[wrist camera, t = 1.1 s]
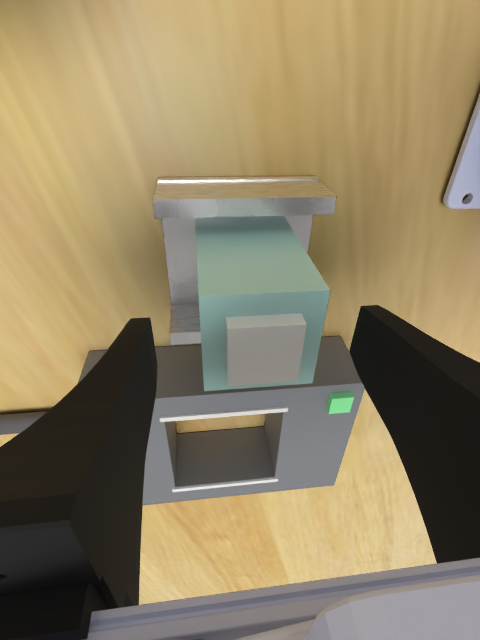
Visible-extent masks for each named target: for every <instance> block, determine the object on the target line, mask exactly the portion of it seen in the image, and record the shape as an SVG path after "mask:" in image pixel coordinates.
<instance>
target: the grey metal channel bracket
mask: <svg viewBox="0 0 480 640" xmlns="http://www.w3.org/2000/svg"><path fill="white" fill-rule="evenodd" d="M157 181H158V182H157V186H156V190H155V193H154V197H153V206H154V214H155V219H161V218H162V225H163V234H164V243H165V252H166V261H167V269H168V278H169V287H170V296H171V317H170V331H169V335H170V343H171V345H179V344H196V343H201V330H200V313H199V297H198V272H197V248H196V224H195V218H204V217H246V216H284V217H285V218H286V220H287V222H288V223H289V225H290V226H291V228H292V230H293V231H294V233H295V234H296V236H297V238H298V239H299V241H300V242H301V244H302V246H303V247H304V249H305V250H306V252H307V254H308V247H309V240H310V233H311V226H312V219H313V215H332V214H334V210H335V204H336V198H337V196H335V195H334V194H333V193H332V192H331V191H330V190H329V189H328V188H327V187H326V186H324V185H323V184H322V183H321V182H320V181H319V180H318V178H317V177H316V176H238V177H158V180H157Z"/></svg>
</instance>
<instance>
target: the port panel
mask: <svg viewBox="0 0 480 640" xmlns="http://www.w3.org/2000/svg"><path fill="white" fill-rule="evenodd" d="M106 351H107V350H101V351H89V353H88V356H87V359H86V361H85V364H84V367H83V370H82V373H81V376H80V379H79V382H80V381H81V380H82V379H83V378H84V377H85V376H86V375H87V373H88V372H89V371H90V370H91V369H92V368H93V367H94V366H95V364H96V363H97V362H98V361H99V360H100V359H101V357H102V356H103V355H104V354H105V352H106ZM155 352H156V358H157V364H158V365H157V390H156V397H155V403H154V409H153V415H152V421H151V427H150V433H149V439H148V445H147V451H146V460H145V471H144V486H143V504H142V505H151V504H161V503H170V502H180V501H189V500H199V499H208V498H218V497H227V496H237V495H246V494H256V493H265V492H275V491H284V490H294V489H303V488H313V487H322V486H332V485H334V484H335V481H336V477H337V474H338V471H339V468H340V465H341V462H342V458H343V455H344V452H345V449H346V446H347V443H348V439H349V436H350V433H351V430H352V427H353V424H354V420H355V417H356V414H357V411H358V408H359V405H360V402H361V398H362V395H363V392H364V389H365V387H364V385H363V383H362V382H361V380H360V378H359V376H358V373H357V371H356V368H355V366H354V363H353V360H352V357H351V354H350V352H349V350H348V349H347V347H346V345H345V343H344V341H343V340H342V338H341V336H333V337H321V341H320V347H319V352H318V357H317V362H316V367H315V373H314V378H313V383H309V384H295V385H282V386H268V387H255V388H241V389H228V390H214V391H204V381H203V364H202V347H201V344H200V345H184V346H167V347H155ZM79 382H78V383H79ZM255 414H265V425H264V427H252V428H240V429H229V430H217V431H205V432H194V433H182V434H177V431H176V423H175V421H182V420H194V419H206V418H218V417H230V416H243V415H255Z"/></svg>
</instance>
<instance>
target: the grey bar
mask: <svg viewBox="0 0 480 640" xmlns="http://www.w3.org/2000/svg"><path fill="white" fill-rule="evenodd" d="M46 412H48V411H44V412H31V413H18V414H5V415H0V435H2V434H14V433H21V432H22V431H24V430H25V429H26V428H28V427H29V426H30V425H32V424H33V423H34V422H35V421H37V420H38V419H39V418H40V417H42V416H43V415H44V414H45V413H46Z"/></svg>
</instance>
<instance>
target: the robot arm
mask: <svg viewBox="0 0 480 640" xmlns="http://www.w3.org/2000/svg"><path fill="white" fill-rule="evenodd" d="M466 194H468V196H467V198H466V199H465V200H464V201H462V199H463V197H464V196H465V195H466ZM443 202H444V205H445V206H446V207H448V208H450V209H480V94H479V97H478V100H477V103H476V106H475V109H474V112H473V114H472V117H471V120H470V123H469V126H468V129H467V132H466V135H465V138H464V140H463V143H462V146H461V149H460V152H459V155H458V158H457V161H456V163H455V166H454V169H453V172H452V175H451V178H450V181H449V184H448V187H447V189H446V192H445V195H444V199H443ZM350 354H351V357H352V360H353V363H354V366H355V368H356V371H357V373H358V376H359V378H360V380H361V382H362V383H363V385H364V387H365V389H366V391H367V393H368V395H369V396H370V398H371V400H372V402H373V404H374V405H375V407H376V409H377V411H378V413H379V414H380V416H381V418H382V420H383V422H384V424H385V425H386V427H387V429H388V431H389V433H390V435H391V437H392V439H393V441H394V444H395V446H396V449H397V451H398V453H399V456H400V458H401V461H402V463H403V465H404V468H405V471H406V473H407V476H408V478H409V481H410V484H411V486H412V489H413V491H414V494H415V497H416V500H417V503H418V506H419V508H420V511H421V514H422V517H423V520H424V523H425V526H426V529H427V532H428V535H429V539H430V542H431V545H432V548H433V552H434V555H435V558H436V561H437V564H431V565H424V566H417V567H409V568H402V569H395V570H388V571H381V572H374V573H366V574H359V575H352V576H345V577H338V578H330V579H323V580H316V581H309V582H302V583H294V584H287V585H280V586H273V587H266V588H259V589H251V590H244V591H237V592H230V593H223V594H215V595H208V596H201V597H194V598H187V599H179V600H172V601H165V602H158V603H151V604H143V605H139V574H140V546H141V523H142V504H143V486H144V471H145V460H146V451H147V445H148V439H149V433H150V427H151V421H152V415H153V409H154V403H155V397H156V390H157V365H158V364H157V358H156V352H155V345H154V339H153V333H152V326H151V320H150V318H133V319H130V320H129V321H128V323H127V324H126V325H125V327H124V328H123V330H122V331H121V332H120V334H119V335H118V337H117V338H116V339H115V341H114V342H113V343H112V345H111V346H110V347H109V348H108V350H107V351H106V352H105V354H104V355H103V356H102V357H101V359H100V360H99V361H98V362H97V363H96V364H95V366H94V367H93V368H92V369H91V370H90V371H89V372H88V373H87V375H86V376H85V377H84V378H83V379H82V380H81V381H80V382H79V383H78V384H77V385H76V386H75V387H74V388H73V389H72V390H71V391H70V392H69V393H68V394H67V395H66V396H65V397H64V398H63V399H62V400H61V401H60V402H59V403H57V404H56V405H55V406H54V407H53V408H51V409H50V410H49V411H48V412H46V413H45V414H44V415H43V416H42V417H40V418H39V419H38V420H37V421H35V422H34V423H33V424H32V425H30V426H29V427H28V428H26V429H25V430H24V431H22V432H21V433H20V434H18V435H17V436H15V437H14V438H13V439H11V440H10V441H8V442H7V443H5V444H4V445H3V446H1V447H0V640H480V363H479V362H477V361H475V360H473V359H471V358H469V357H467V356H465V355H463V354H461V353H459V352H457V351H456V350H454V349H452V348H450V347H448V346H446V345H444V344H443V343H441V342H439V341H438V340H436V339H434V338H432V337H431V336H429V335H427V334H426V333H424V332H422V331H421V330H419V329H417V328H416V327H414V326H412V325H411V324H409V323H408V322H406V321H404V320H403V319H401V318H399V317H398V316H396V315H394V314H393V313H391V312H389V311H388V310H386V309H384V308H382V307H380V306H378V305H373V306H361V308H360V312H359V316H358V320H357V324H356V327H355V331H354V335H353V339H352V343H351V347H350Z"/></svg>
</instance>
